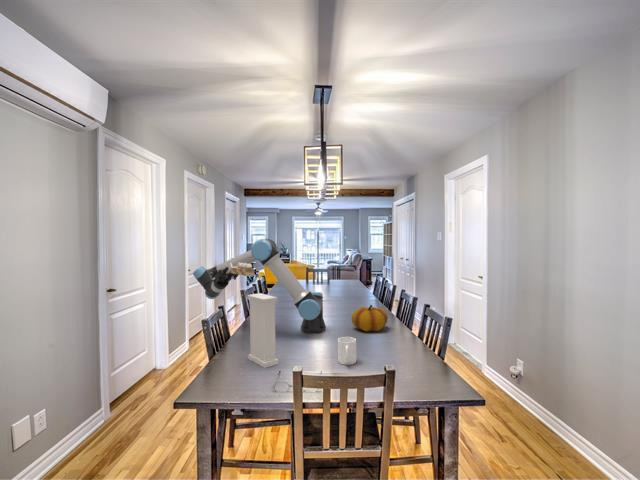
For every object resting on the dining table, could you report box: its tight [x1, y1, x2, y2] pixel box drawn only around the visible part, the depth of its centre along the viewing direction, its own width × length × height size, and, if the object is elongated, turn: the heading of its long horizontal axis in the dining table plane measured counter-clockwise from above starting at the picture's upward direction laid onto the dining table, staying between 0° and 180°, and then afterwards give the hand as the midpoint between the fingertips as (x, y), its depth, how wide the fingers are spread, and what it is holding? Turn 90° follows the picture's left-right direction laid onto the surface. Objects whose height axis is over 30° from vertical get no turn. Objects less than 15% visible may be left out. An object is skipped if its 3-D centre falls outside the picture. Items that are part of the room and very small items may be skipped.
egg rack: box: [225, 263, 255, 277], centre depth 177 cm, size 24×4×6 cm, turn 39°
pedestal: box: [246, 292, 279, 369], centre depth 160 cm, size 15×7×30 cm, turn 39°
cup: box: [337, 336, 357, 366], centre depth 157 cm, size 8×12×10 cm
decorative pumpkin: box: [351, 304, 388, 333], centre depth 211 cm, size 20×22×15 cm
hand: (235, 265), depth 180 cm, fingers closed on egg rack, 4 cm apart
